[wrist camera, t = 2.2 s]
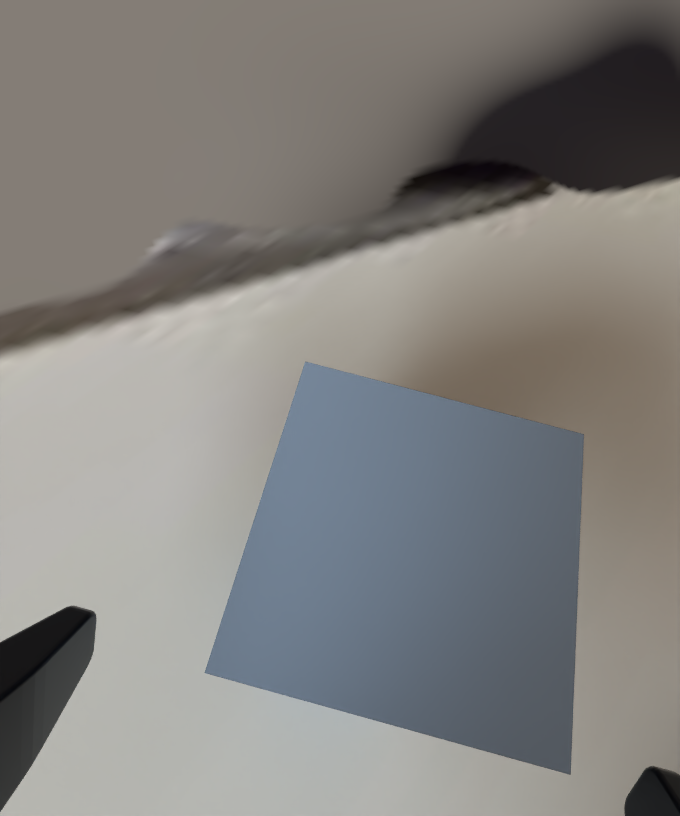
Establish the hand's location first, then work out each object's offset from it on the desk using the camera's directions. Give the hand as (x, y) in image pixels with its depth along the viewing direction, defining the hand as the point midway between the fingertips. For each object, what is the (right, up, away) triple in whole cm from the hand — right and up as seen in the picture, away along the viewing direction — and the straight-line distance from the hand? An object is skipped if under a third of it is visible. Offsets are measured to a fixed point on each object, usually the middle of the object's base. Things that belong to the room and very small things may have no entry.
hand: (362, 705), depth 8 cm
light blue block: (0, -2, +10) cm, 10 cm away
